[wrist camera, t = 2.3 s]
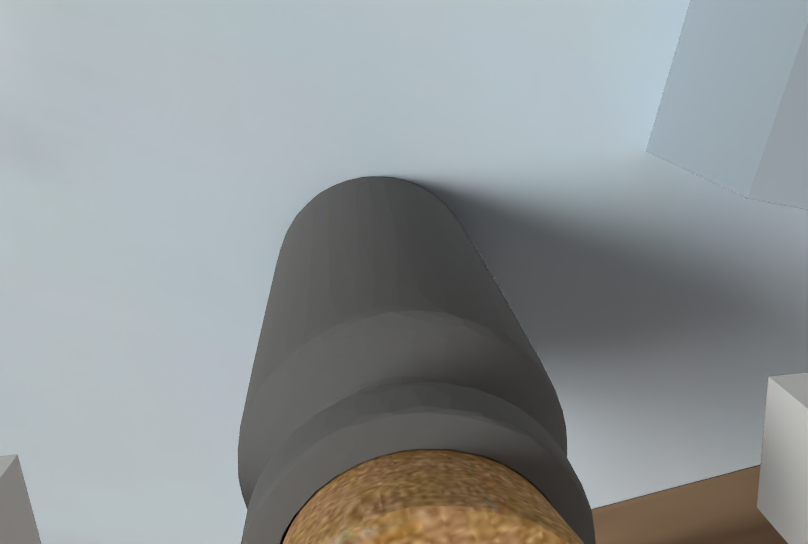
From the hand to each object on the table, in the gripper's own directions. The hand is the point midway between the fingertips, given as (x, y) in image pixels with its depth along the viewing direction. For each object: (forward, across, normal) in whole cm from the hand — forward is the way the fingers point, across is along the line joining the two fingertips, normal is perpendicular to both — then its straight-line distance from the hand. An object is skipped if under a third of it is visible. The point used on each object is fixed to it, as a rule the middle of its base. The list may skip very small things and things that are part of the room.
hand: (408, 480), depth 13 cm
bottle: (+11, 0, +1) cm, 11 cm away
